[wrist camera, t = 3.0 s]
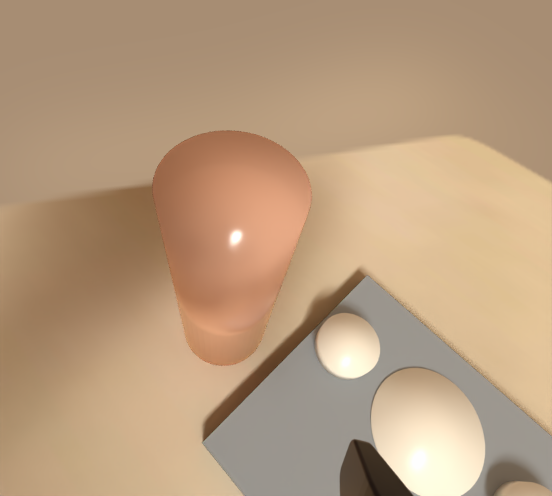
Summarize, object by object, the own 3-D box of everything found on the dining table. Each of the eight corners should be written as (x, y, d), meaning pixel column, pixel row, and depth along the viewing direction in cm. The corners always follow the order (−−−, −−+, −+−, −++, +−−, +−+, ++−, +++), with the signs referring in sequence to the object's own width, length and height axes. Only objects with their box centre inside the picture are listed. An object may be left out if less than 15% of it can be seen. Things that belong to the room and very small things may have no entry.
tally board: (465, 770, 14) (498, 811, 13) (202, 443, 19) (201, 441, 17) (578, 472, 21) (610, 473, 19) (362, 281, 25) (372, 268, 23)
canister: (220, 383, 20) (227, 287, 9) (167, 322, 22) (118, 174, 11) (279, 327, 22) (342, 195, 11) (228, 275, 24) (239, 111, 13)
